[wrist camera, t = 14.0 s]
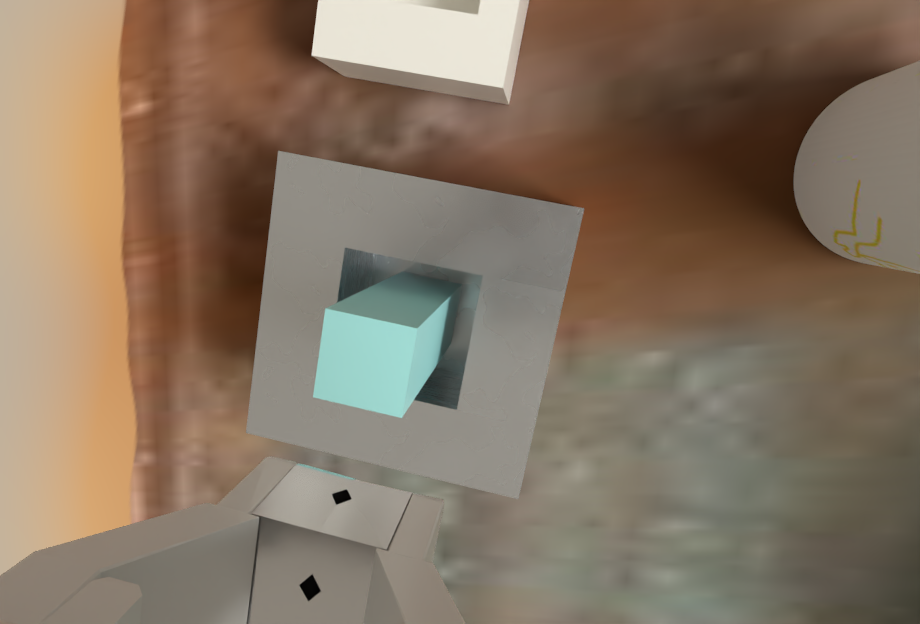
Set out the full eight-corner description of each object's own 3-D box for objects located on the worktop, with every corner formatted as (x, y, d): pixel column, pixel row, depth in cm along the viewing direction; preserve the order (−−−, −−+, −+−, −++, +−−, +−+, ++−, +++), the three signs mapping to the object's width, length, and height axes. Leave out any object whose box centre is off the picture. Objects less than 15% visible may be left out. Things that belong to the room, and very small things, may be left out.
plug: (401, 271, 28) (325, 308, 18) (462, 284, 28) (417, 328, 18) (391, 331, 28) (312, 397, 19) (450, 343, 28) (401, 418, 18)
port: (332, 161, 28) (278, 150, 23) (575, 207, 27) (584, 208, 21) (302, 389, 31) (246, 432, 25) (523, 440, 30) (518, 499, 24)
